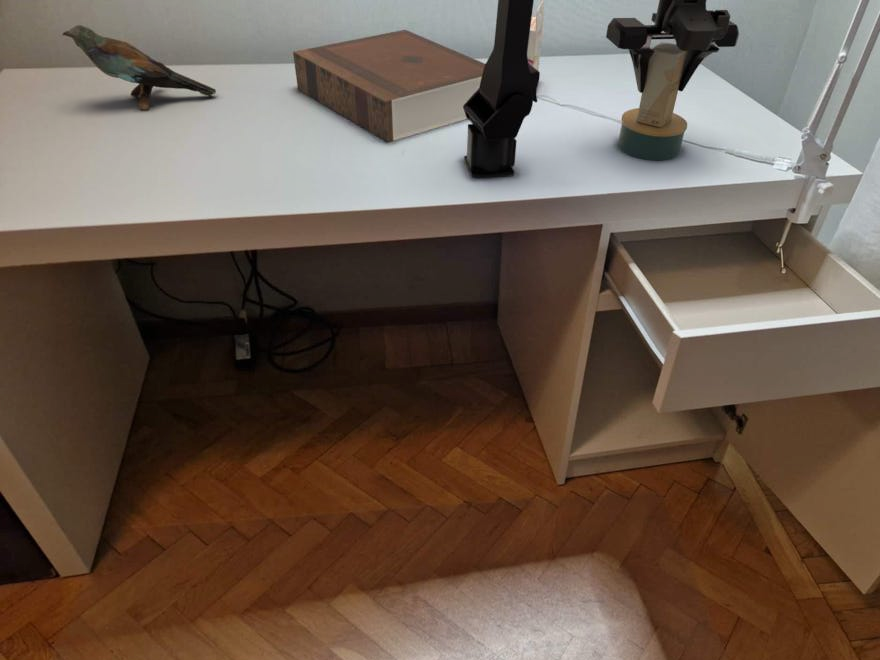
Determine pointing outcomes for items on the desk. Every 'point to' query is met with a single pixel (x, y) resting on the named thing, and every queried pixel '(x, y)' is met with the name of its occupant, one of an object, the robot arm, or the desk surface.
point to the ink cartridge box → (535, 37)
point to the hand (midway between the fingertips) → (660, 91)
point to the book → (390, 82)
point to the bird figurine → (131, 65)
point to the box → (661, 84)
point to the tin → (651, 137)
